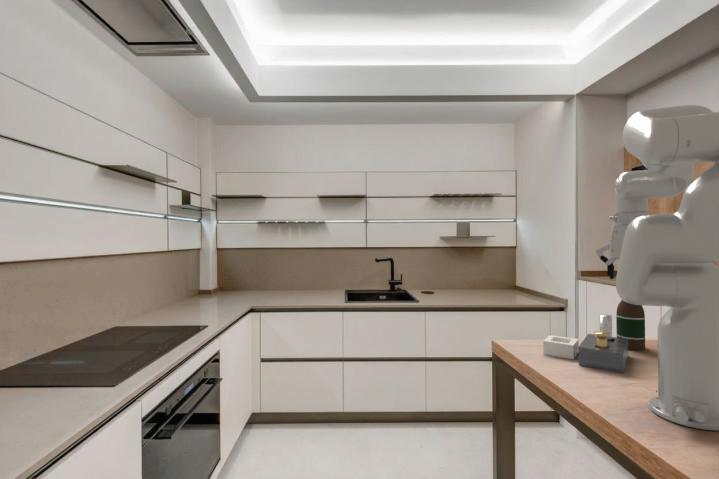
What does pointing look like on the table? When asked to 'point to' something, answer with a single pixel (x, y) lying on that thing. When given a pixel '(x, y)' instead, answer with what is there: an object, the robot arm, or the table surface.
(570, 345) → the holder
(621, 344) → the socket block
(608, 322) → the silver rounded peg
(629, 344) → the beer bottle
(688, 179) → the robot arm
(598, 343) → the key
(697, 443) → the table surface
